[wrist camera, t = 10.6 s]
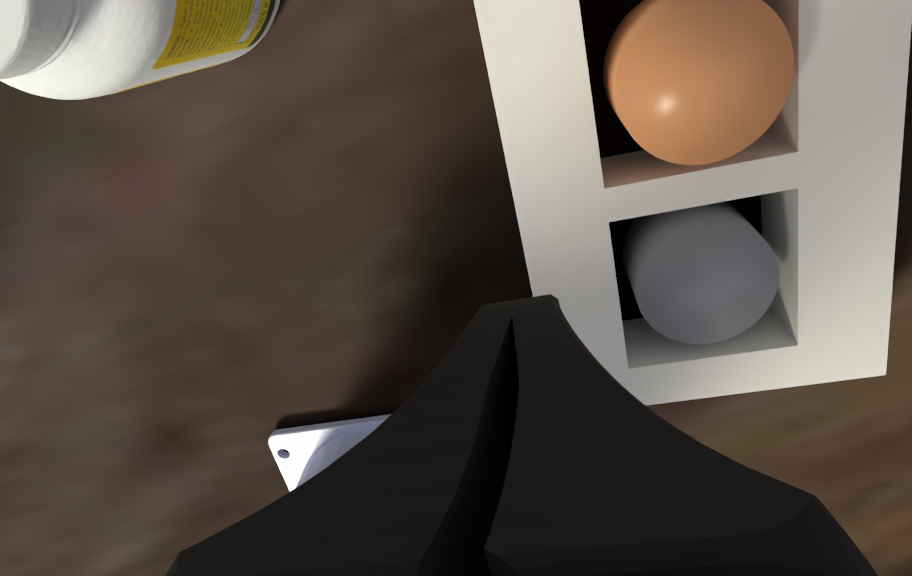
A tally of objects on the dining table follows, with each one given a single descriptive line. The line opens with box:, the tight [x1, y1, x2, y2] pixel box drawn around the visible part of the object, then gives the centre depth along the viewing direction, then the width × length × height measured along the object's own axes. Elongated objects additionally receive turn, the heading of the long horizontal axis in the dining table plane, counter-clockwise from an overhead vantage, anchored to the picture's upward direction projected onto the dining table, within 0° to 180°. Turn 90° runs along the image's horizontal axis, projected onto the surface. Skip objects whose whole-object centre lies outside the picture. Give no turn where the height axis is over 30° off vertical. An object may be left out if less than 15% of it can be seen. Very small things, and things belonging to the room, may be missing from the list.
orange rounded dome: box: [603, 0, 794, 165], centre depth 16 cm, size 4×4×3 cm
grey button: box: [622, 201, 779, 344], centre depth 19 cm, size 4×4×3 cm
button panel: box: [474, 0, 912, 405], centre depth 17 cm, size 20×10×3 cm, turn 13°
